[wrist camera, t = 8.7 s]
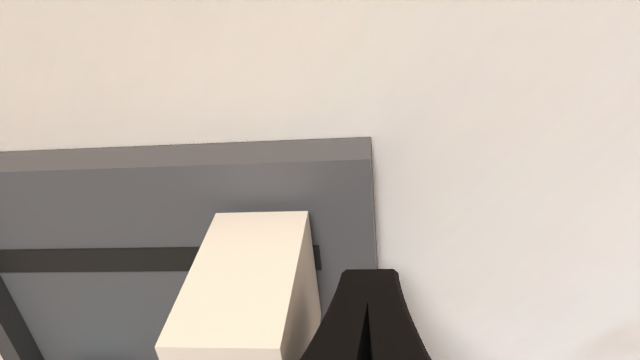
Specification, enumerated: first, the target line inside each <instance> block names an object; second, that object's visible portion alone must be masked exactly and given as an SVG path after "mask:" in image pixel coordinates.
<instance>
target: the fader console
mask: <svg viewBox="0 0 640 360" xmlns="http://www.w3.org/2000/svg"><path fill="white" fill-rule="evenodd" d="M283 211H308V215H309V222H310V230H311V238H312V246H313V254H314V262H315V269H316V277H317V285H318V293H319V301H320V309H321V321H320V324H321V322H322V320H323V318H324V316H325V314H326V312H327V310H328V308H329V305H330V303H331V301H332V299H333V296H334V294H335V291H336V289H337V286H338V283H339V280H340V277H341V274H342V272H344V271H345V270H346V269H378V266H377V247H376V227H375V207H374V187H373V167H372V147H371V137H357V138H332V139H307V140H282V141H257V142H232V143H208V144H183V145H158V146H133V147H108V148H83V149H58V150H33V151H9V152H0V354H1V356H2V358H3V359H4V360H159V358H158V355H157V353H156V350H155V345H156V343H157V340H158V338H159V336H160V334H161V332H162V330H163V327H164V325H165V323H166V321H167V319H168V316H169V314H170V312H171V310H172V308H173V306H174V303H175V301H176V299H177V297H178V295H179V292H180V290H181V288H182V286H183V284H184V282H185V279H186V277H187V275H188V273H189V271H190V268H191V266H192V264H193V262H194V260H195V258H196V255H197V253H198V251H199V249H200V247H201V244H202V242H203V240H204V238H205V236H206V234H207V231H208V229H209V227H210V225H211V223H212V220H213V218H214V216H215V214H216V213H238V212H283Z"/></svg>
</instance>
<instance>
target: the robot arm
mask: <svg viewBox="0 0 640 360" xmlns="http://www.w3.org/2000/svg"><path fill="white" fill-rule="evenodd" d="M300 360H431V358H430V356H429V354H428V352H427V351H426V349H425V346H424V344H423V342H422V340H421V338H420V336H419V334H418V332H417V329H416V327H415V325H414V323H413V321H412V318H411V316H410V313H409V311H408V308H407V305H406V302H405V300H404V297H403V293H402V290H401V286H400V282H399V276H398V272H396V271H395V270H394V269H346V270H345V271H344V272H342V274H341V277H340V280H339V283H338V286H337V289H336V291H335V294H334V296H333V299H332V301H331V303H330V305H329V308H328V310H327V312H326V314H325V316H324V318H323V320H322V322H321V324H320V325H319V327H318V329H317V331H316V333H315V335H314V337H313V339H312V340H311V342H310V344H309V345H308V347H307V349H306V350H305V352H304V354H303V355H302V357H301V359H300Z"/></svg>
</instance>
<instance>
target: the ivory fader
mask: <svg viewBox="0 0 640 360" xmlns="http://www.w3.org/2000/svg"><path fill="white" fill-rule="evenodd" d="M320 321H321V309H320V301H319V293H318V285H317V277H316V269H315V262H314V254H313V246H312V238H311V230H310V222H309V215H308V211H283V212H238V213H216V214H215V216H214V218H213V220H212V223H211V225H210V227H209V229H208V231H207V234H206V236H205V238H204V240H203V242H202V244H201V247H200V249H199V251H198V253H197V255H196V258H195V260H194V262H193V264H192V266H191V268H190V271H189V273H188V275H187V277H186V279H185V282H184V284H183V286H182V288H181V290H180V292H179V295H178V297H177V299H176V301H175V303H174V306H173V308H172V310H171V312H170V314H169V316H168V319H167V321H166V323H165V325H164V327H163V330H162V332H161V334H160V336H159V338H158V340H157V343H156V345H155V350H156V353H157V355H158V358H159V360H300V359H301V357H302V355H303V354H304V352H305V350H306V349H307V347H308V345H309V344H310V342H311V340H312V339H313V337H314V335H315V333H316V331H317V329H318V327H319V325H320Z"/></svg>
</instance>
